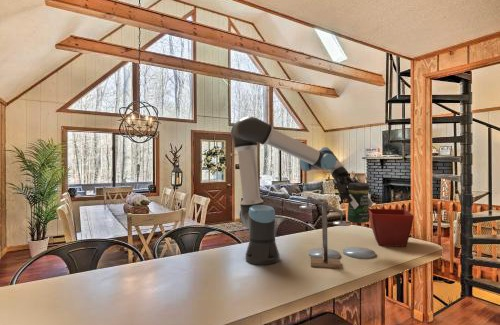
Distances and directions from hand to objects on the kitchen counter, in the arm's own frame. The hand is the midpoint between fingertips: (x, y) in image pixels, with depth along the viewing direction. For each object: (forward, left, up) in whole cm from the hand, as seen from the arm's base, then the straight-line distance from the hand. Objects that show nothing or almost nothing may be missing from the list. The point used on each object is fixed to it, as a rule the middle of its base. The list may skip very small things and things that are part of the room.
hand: (364, 206), depth 130 cm
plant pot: (+17, +24, -23) cm, 37 cm away
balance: (-18, -16, -23) cm, 33 cm away
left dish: (-18, -3, -23) cm, 29 cm away
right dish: (-2, +2, -23) cm, 23 cm away
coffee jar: (-2, +3, -8) cm, 9 cm away
